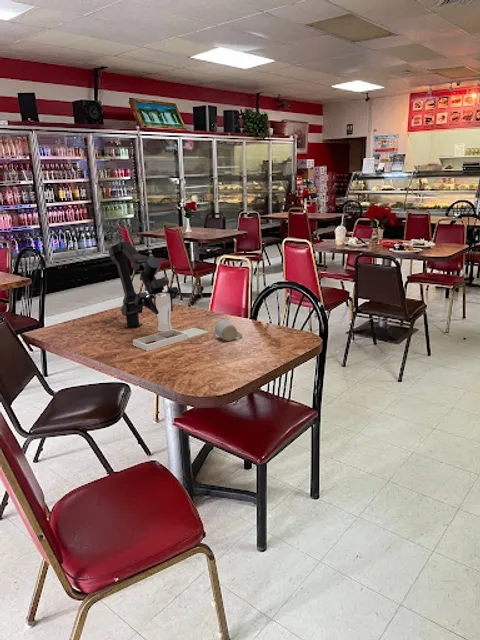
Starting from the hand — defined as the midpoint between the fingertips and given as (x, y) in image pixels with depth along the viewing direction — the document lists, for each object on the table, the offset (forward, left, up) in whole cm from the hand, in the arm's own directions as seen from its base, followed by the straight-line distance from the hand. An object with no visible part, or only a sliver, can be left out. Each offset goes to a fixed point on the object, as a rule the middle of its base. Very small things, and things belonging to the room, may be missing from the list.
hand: (164, 312), depth 199 cm
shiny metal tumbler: (-1, -1, -8) cm, 8 cm away
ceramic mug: (-9, +25, -14) cm, 30 cm away
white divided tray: (-5, 0, -13) cm, 14 cm away
